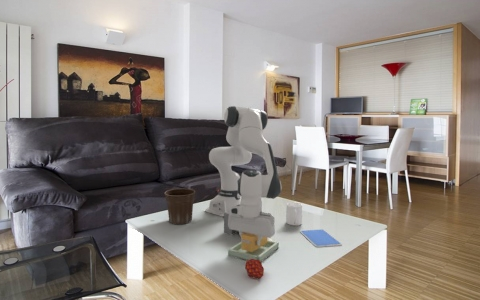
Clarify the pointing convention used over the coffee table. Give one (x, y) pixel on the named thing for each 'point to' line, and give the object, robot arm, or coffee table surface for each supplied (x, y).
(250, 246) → the orange rectangular block
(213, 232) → the coffee table surface
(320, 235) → the tablet computer
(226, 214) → the block
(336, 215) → the coffee table surface
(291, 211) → the mug
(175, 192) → the plant pot
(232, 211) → the robot arm
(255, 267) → the red bumpy oval lump
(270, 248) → the tray
